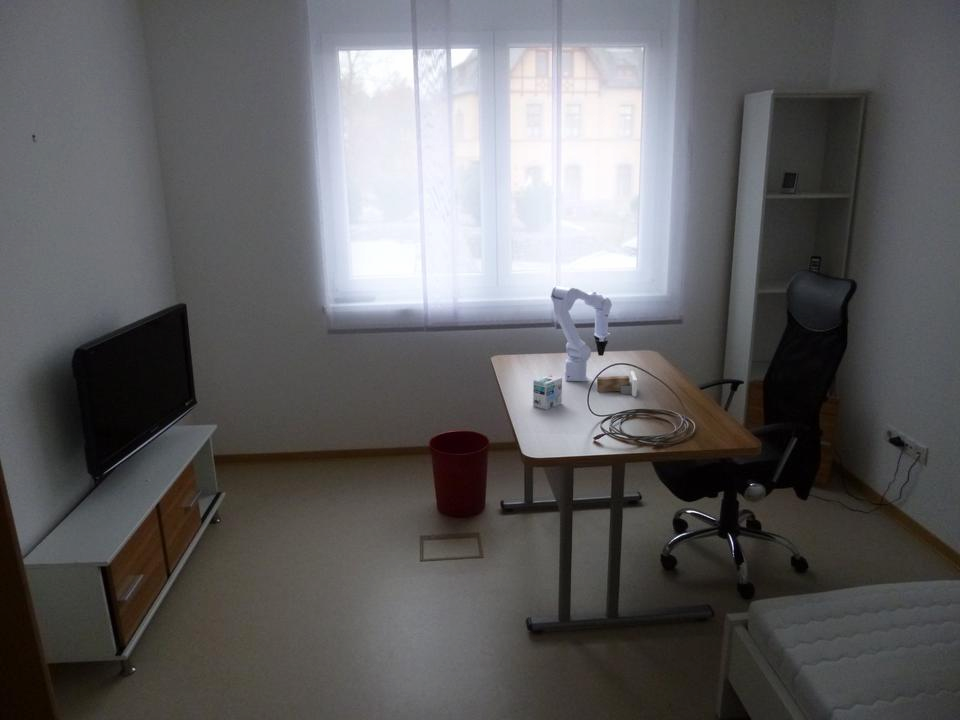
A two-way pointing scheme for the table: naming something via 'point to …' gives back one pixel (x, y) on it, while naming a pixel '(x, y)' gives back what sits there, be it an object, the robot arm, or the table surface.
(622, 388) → the bracket
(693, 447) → the table surface
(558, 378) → the light bulb box
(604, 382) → the rail
